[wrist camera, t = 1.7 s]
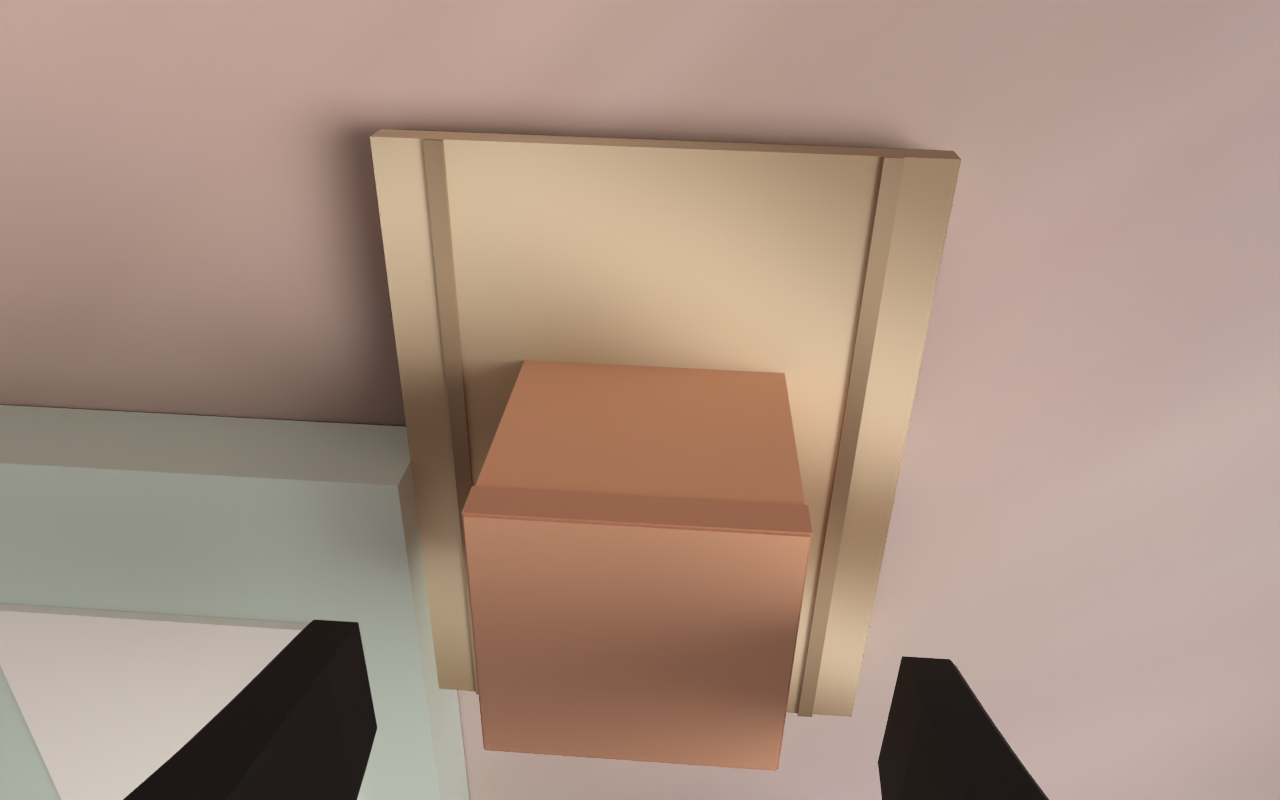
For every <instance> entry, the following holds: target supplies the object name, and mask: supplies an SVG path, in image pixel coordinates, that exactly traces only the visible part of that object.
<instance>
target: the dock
mask: <svg viewBox="0 0 1280 800" xmlns="http://www.w3.org/2000/svg"><path fill="white" fill-rule="evenodd" d="M313 620H330V621H346V622H358V623H359V629H360V634H361V640H362V645H363V651H364V657H365V662H366V668H367V673H368V679H369V684H370V690H371V695H372V701H373V706H374V712H375V717H376V723H377V731H376V735H375V738H374V742H373V745H372V749H371V753H370V756H369V760H368V764H367V767H366V771H365V774H364V778H363V781H362V784H361V788H360V791H359V794H358V798H357V800H469V793H468V784H467V775H466V766H465V757H464V748H463V739H462V730H461V721H460V712H459V703H458V694H457V690H451V689H439V685H438V677H437V669H436V661H435V653H434V645H433V637H432V629H431V621H430V613H429V605H428V597H427V589H426V581H425V573H424V565H423V557H422V549H421V541H420V533H419V525H418V517H417V510H416V502H415V494H414V486H413V478H412V470H411V462H410V454H409V446H408V438H407V430H406V427H402V426H384V425H365V424H347V423H328V422H310V421H291V420H272V419H254V418H235V417H217V416H198V415H180V414H161V413H142V412H124V411H105V410H87V409H68V408H50V407H31V406H12V405H0V800H123V799H124V798H125V797H126V796H128V795H129V794H130V793H131V792H132V791H133V790H134V789H136V788H137V787H138V786H139V785H140V784H141V783H142V782H144V781H145V780H146V779H147V778H148V777H149V776H150V775H152V774H153V773H154V772H155V771H156V770H157V769H158V768H159V767H161V766H162V765H163V764H164V763H165V762H166V761H167V760H169V759H170V758H171V757H172V756H173V755H174V754H175V753H176V752H178V751H179V750H180V749H181V748H182V747H183V746H184V745H185V744H186V743H187V742H188V741H189V740H190V739H191V738H193V737H194V736H195V735H196V734H197V733H198V732H199V731H200V730H201V729H202V728H203V727H204V726H205V725H206V724H207V723H208V722H209V721H210V720H211V719H213V718H214V717H215V716H216V715H217V714H218V713H219V712H220V711H221V710H222V709H223V708H224V707H225V706H226V705H227V704H228V703H229V702H230V701H231V700H232V699H233V698H234V697H236V696H237V695H238V694H239V693H240V692H241V691H242V690H243V689H244V688H245V687H246V686H247V685H248V684H249V683H250V682H251V681H252V680H253V679H254V678H255V677H256V676H257V675H258V674H259V673H260V672H261V671H262V670H263V669H264V668H265V667H266V666H267V665H268V664H269V663H270V662H271V661H272V660H273V659H274V658H275V657H276V656H277V655H278V654H279V653H280V652H281V651H282V650H283V649H284V648H285V647H286V646H287V645H288V644H289V643H290V642H291V641H292V640H293V639H294V638H295V637H296V636H297V635H298V634H299V633H300V632H301V631H302V630H303V629H304V628H305V627H306V626H307V625H308V624H309V623H310V622H312V621H313Z"/></svg>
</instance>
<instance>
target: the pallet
mask: <svg viewBox="0 0 1280 800" xmlns="http://www.w3.org/2000/svg"><path fill="white" fill-rule="evenodd" d="M370 142H371V150H372V158H373V166H374V174H375V182H376V190H377V198H378V206H379V214H380V222H381V230H382V238H383V246H384V254H385V262H386V270H387V278H388V286H389V294H390V302H391V310H392V318H393V326H394V334H395V342H396V350H397V358H398V366H399V374H400V382H401V390H402V398H403V406H404V414H405V422H406V430H407V438H408V446H409V454H410V462H411V470H412V478H413V486H414V494H415V502H416V510H417V517H418V525H419V533H420V541H421V549H422V557H423V565H424V573H425V581H426V589H427V597H428V605H429V613H430V621H431V629H432V637H433V645H434V653H435V661H436V669H437V677H438V685H439V689H451V690H466V691H476V694H479V691H478V680H477V670H476V659H475V649H474V638H473V627H472V617H471V606H470V596H469V585H468V575H467V564H466V554H465V543H464V533H463V522H462V510H463V508H464V505H465V503H466V500H467V498H468V495H469V493H470V490H471V488H472V486H475V485H476V483H477V480H478V478H479V475H480V472H481V470H482V467H483V465H484V462H485V460H486V457H487V455H488V452H489V449H490V447H491V444H492V442H493V439H494V437H495V434H496V432H497V429H498V427H499V424H500V421H501V419H502V416H503V414H504V411H505V409H506V406H507V404H508V401H509V398H510V396H511V393H512V391H513V388H514V386H515V383H516V381H517V378H518V375H519V373H520V370H521V368H522V365H523V363H524V360H531V361H551V362H571V363H591V364H611V365H631V366H651V367H671V368H691V369H711V370H731V371H751V372H772V373H785V378H786V384H787V391H788V397H789V404H790V410H791V417H792V423H793V430H794V436H795V443H796V449H797V456H798V462H799V469H800V475H801V482H802V488H803V495H804V501H805V505H808V509H809V515H810V522H811V528H812V538H811V545H810V552H809V559H808V566H807V573H806V580H805V586H804V593H803V600H802V607H801V614H800V621H799V628H798V635H797V641H796V648H795V655H794V662H793V669H792V676H791V683H790V690H789V696H788V703H787V710H786V712H790V713H798V716H806V717H812V714H820V715H835V716H849V717H851V715H852V710H853V705H854V700H855V695H856V690H857V685H858V680H859V674H860V669H861V664H862V659H863V654H864V649H865V644H866V639H867V634H868V629H869V624H870V619H871V614H872V609H873V603H874V598H875V593H876V588H877V583H878V578H879V573H880V568H881V563H882V558H883V553H884V548H885V543H886V538H887V533H888V527H889V522H890V517H891V512H892V507H893V502H894V497H895V492H896V487H897V482H898V477H899V472H900V467H901V462H902V456H903V451H904V446H905V441H906V436H907V431H908V426H909V421H910V416H911V411H912V406H913V401H914V396H915V391H916V385H917V380H918V375H919V370H920V365H921V360H922V355H923V350H924V345H925V340H926V335H927V330H928V325H929V320H930V314H931V309H932V304H933V299H934V294H935V289H936V284H937V279H938V274H939V269H940V264H941V259H942V254H943V249H944V244H945V238H946V233H947V228H948V223H949V218H950V213H951V208H952V203H953V198H954V193H955V188H956V183H957V178H958V173H959V167H960V162H961V159H960V158H959V157H958V156H957V154H956V153H955V152H954V151H942V150H916V149H889V148H863V147H837V146H810V145H784V144H758V143H731V142H705V141H679V140H652V139H626V138H600V137H573V136H547V135H521V134H494V133H468V132H441V131H415V130H389V129H380V130H378V131H377V132H376V133H374V134H373V135H371V136H370Z"/></svg>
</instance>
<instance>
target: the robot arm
mask: <svg viewBox="0 0 1280 800" xmlns="http://www.w3.org/2000/svg"><path fill="white" fill-rule="evenodd" d="M376 731H377V723H376V717H375V712H374V706H373V701H372V695H371V690H370V684H369V679H368V673H367V668H366V662H365V657H364V651H363V645H362V640H361V634H360V629H359V623H358V622H346V621H330V620H313V621H312V622H310V623H309V624H308V625H307V626H306V627H305V628H304V629H303V630H302V631H301V632H300V633H299V634H298V635H297V636H296V637H295V638H294V639H293V640H292V641H291V642H290V643H289V644H288V645H287V646H286V647H285V648H284V649H283V650H282V651H281V652H280V653H279V654H278V655H277V656H276V657H275V658H274V659H273V660H272V661H271V662H270V663H269V664H268V665H267V666H266V667H265V668H264V669H263V670H262V671H261V672H260V673H259V674H258V675H257V676H256V677H255V678H254V679H253V680H252V681H251V682H250V683H249V684H248V685H247V686H246V687H245V688H244V689H243V690H242V691H241V692H240V693H239V694H238V695H237V696H236V697H234V698H233V699H232V700H231V701H230V702H229V703H228V704H227V705H226V706H225V707H224V708H223V709H222V710H221V711H220V712H219V713H218V714H217V715H216V716H215V717H214V718H213V719H211V720H210V721H209V722H208V723H207V724H206V725H205V726H204V727H203V728H202V729H201V730H200V731H199V732H198V733H197V734H196V735H195V736H194V737H193V738H191V739H190V740H189V741H188V742H187V743H186V744H185V745H184V746H183V747H182V748H181V749H180V750H179V751H178V752H176V753H175V754H174V755H173V756H172V757H171V758H170V759H169V760H167V761H166V762H165V763H164V764H163V765H162V766H161V767H159V768H158V769H157V770H156V771H155V772H154V773H153V774H152V775H150V776H149V777H148V778H147V779H146V780H145V781H144V782H142V783H141V784H140V785H139V786H138V787H137V788H136V789H134V790H133V791H132V792H131V793H130V794H129V795H128V796H126V797H125V798H124V799H123V800H357V798H358V794H359V791H360V788H361V784H362V781H363V778H364V774H365V771H366V767H367V764H368V760H369V756H370V753H371V749H372V745H373V742H374V738H375V735H376ZM878 766H879V775H880V783H881V792H882V800H1049V799H1048V798H1047V796H1046V795H1045V794H1044V792H1043V791H1042V790H1041V788H1040V787H1039V786H1038V784H1037V783H1036V782H1035V780H1034V779H1033V778H1032V776H1031V775H1030V774H1029V772H1028V771H1027V770H1026V768H1025V767H1024V765H1023V764H1022V763H1021V761H1020V760H1019V759H1018V757H1017V756H1016V754H1015V753H1014V752H1013V750H1012V749H1011V747H1010V746H1009V744H1008V743H1007V741H1006V740H1005V739H1004V737H1003V736H1002V734H1001V733H1000V731H999V730H998V729H997V727H996V726H995V724H994V723H993V721H992V720H991V718H990V717H989V715H988V714H987V712H986V711H985V709H984V708H983V706H982V705H981V703H980V702H979V700H978V699H977V697H976V696H975V694H974V693H973V691H972V690H971V688H970V687H969V685H968V684H967V682H966V681H965V679H964V678H963V676H962V675H961V673H960V672H959V670H958V668H957V667H956V666H955V665H954V664H953V663H952V661H951V660H949V659H933V658H918V657H902V660H901V664H900V668H899V673H898V677H897V681H896V686H895V690H894V695H893V699H892V703H891V708H890V712H889V716H888V721H887V725H886V730H885V734H884V738H883V743H882V747H881V751H880V756H879V760H878Z"/></svg>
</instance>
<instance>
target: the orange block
mask: <svg viewBox="0 0 1280 800" xmlns="http://www.w3.org/2000/svg"><path fill="white" fill-rule="evenodd" d="M462 522H463V533H464V543H465V554H466V564H467V575H468V585H469V596H470V606H471V617H472V627H473V638H474V649H475V659H476V670H477V680H478V691H479V701H480V712H481V722H482V733H483V743H484V749H485V750H491V751H506V752H520V753H534V754H548V755H562V756H576V757H590V758H604V759H618V760H633V761H647V762H661V763H675V764H689V765H703V766H717V767H731V768H745V769H759V770H774V771H776V770H777V769H778V765H779V758H780V751H781V745H782V738H783V731H784V724H785V717H786V710H787V703H788V696H789V690H790V683H791V676H792V669H793V662H794V655H795V648H796V641H797V635H798V628H799V621H800V614H801V607H802V600H803V593H804V586H805V580H806V573H807V566H808V559H809V552H810V545H811V538H812V528H811V522H810V515H809V509H808V505H805V501H804V495H803V488H802V482H801V475H800V469H799V462H798V456H797V449H796V443H795V436H794V430H793V423H792V417H791V410H790V404H789V397H788V391H787V384H786V378H785V373H772V372H751V371H731V370H711V369H691V368H671V367H651V366H631V365H611V364H591V363H571V362H551V361H531V360H524V363H523V365H522V368H521V370H520V373H519V375H518V378H517V381H516V383H515V386H514V388H513V391H512V393H511V396H510V398H509V401H508V404H507V406H506V409H505V411H504V414H503V416H502V419H501V421H500V424H499V427H498V429H497V432H496V434H495V437H494V439H493V442H492V444H491V447H490V449H489V452H488V455H487V457H486V460H485V462H484V465H483V467H482V470H481V472H480V475H479V478H478V480H477V483H476V485H475V486H472V488H471V490H470V493H469V495H468V498H467V500H466V503H465V505H464V508H463V510H462Z"/></svg>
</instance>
